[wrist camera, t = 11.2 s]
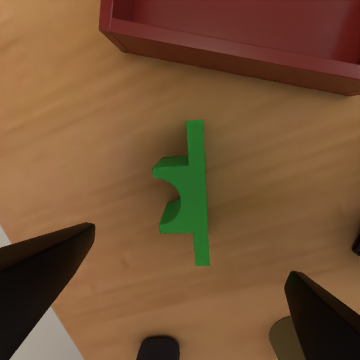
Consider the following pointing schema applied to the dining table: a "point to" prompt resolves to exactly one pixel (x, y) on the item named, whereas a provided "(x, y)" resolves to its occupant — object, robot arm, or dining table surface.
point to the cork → (286, 340)
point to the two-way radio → (159, 350)
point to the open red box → (246, 37)
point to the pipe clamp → (188, 192)
